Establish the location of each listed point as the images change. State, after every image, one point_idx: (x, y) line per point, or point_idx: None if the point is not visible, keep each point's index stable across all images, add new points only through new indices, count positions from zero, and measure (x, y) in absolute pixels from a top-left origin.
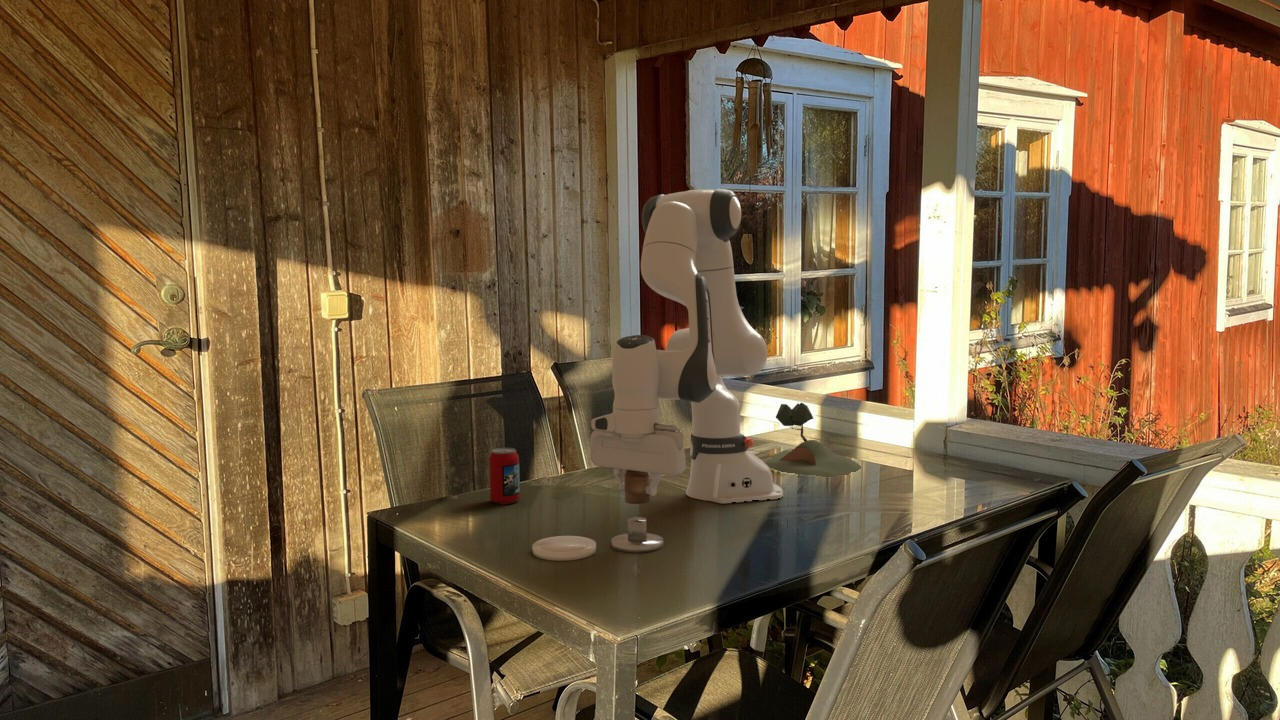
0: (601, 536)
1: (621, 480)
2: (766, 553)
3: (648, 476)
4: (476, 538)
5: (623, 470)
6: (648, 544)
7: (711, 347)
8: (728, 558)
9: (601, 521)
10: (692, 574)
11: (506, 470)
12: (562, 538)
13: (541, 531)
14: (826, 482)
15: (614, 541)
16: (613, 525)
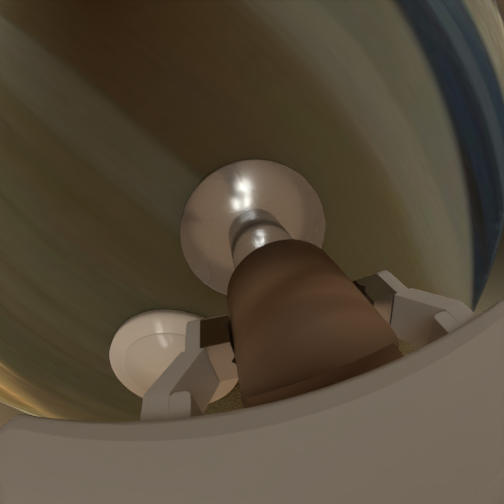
0: (123, 247)
1: (211, 385)
2: (467, 103)
3: (397, 346)
4: (43, 388)
5: (200, 415)
6: (307, 241)
7: None
8: (447, 167)
9: (22, 163)
10: (435, 275)
11: None
12: (137, 357)
13: (33, 313)
14: None
15: (221, 286)
16: (62, 158)
